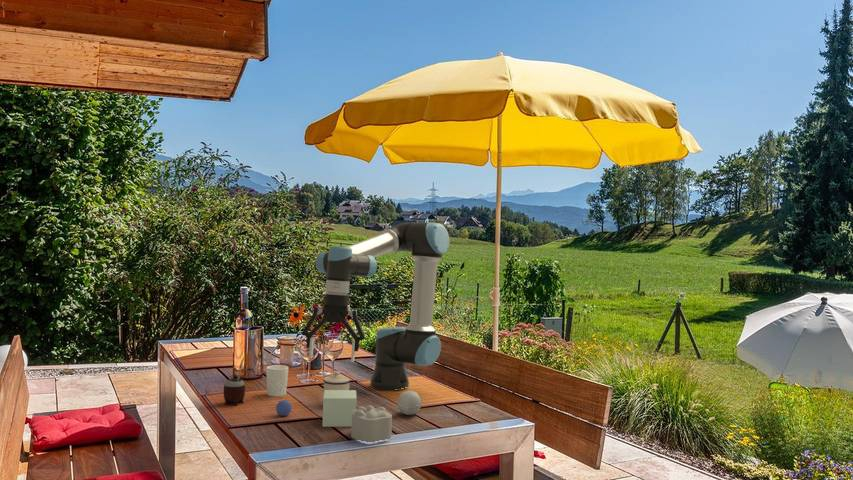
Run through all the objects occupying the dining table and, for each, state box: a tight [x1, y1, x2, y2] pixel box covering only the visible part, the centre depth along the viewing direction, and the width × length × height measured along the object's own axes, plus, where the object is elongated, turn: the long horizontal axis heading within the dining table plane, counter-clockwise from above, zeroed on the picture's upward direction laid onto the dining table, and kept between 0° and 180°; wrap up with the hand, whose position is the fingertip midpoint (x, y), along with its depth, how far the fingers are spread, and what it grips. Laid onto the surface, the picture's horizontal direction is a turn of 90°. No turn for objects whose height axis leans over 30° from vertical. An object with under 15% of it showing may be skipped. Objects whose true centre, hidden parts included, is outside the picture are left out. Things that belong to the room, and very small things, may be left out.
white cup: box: [265, 364, 290, 397], centre depth 240 cm, size 8×8×10 cm
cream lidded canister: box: [323, 370, 351, 391], centre depth 230 cm, size 12×9×12 cm
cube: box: [322, 389, 358, 428], centre depth 209 cm, size 10×10×9 cm
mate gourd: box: [223, 356, 246, 407], centre depth 227 cm, size 8×8×15 cm
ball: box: [275, 399, 293, 417], centre depth 214 cm, size 5×5×5 cm
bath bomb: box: [397, 390, 422, 416], centre depth 220 cm, size 8×8×8 cm
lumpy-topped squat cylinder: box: [350, 404, 393, 442], centre depth 196 cm, size 10×13×9 cm
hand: (331, 359), depth 212 cm, fingers open, 13 cm apart
